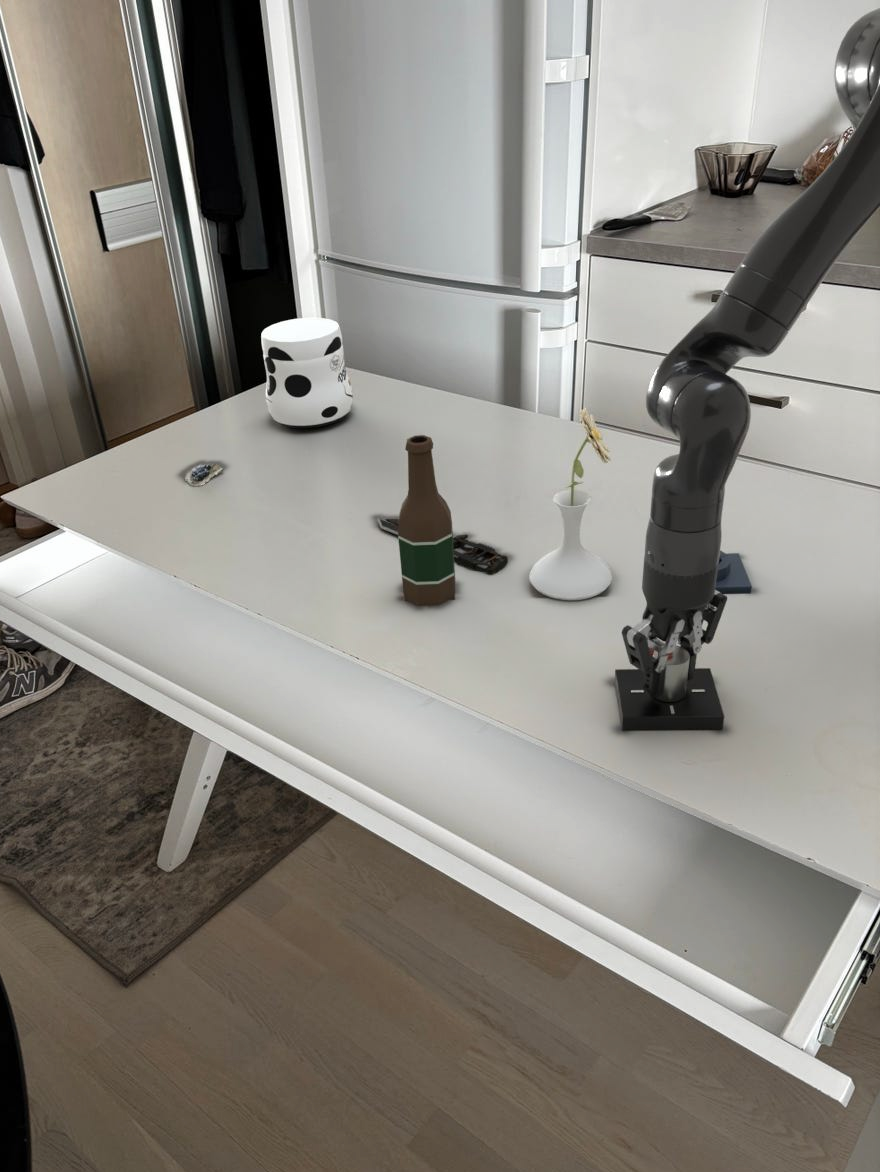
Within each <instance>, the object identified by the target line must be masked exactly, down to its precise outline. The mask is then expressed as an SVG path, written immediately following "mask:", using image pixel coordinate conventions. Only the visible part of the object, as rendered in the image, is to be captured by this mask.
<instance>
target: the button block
mask: <svg viewBox="0 0 880 1172" xmlns="http://www.w3.org/2000/svg"><path fill="white" fill-rule="evenodd" d="M752 588H753V585H752V583H751V581H750V578H749V576H748V573H747V571H746V568H745V566H744V563H743V560H742V558H741V556H740V553H739V552H735V553H734V552H732V553H730V552H729V553H726V552H724V551H722V550H721V549H720V558H719V564H718V571H717V579H716V587H715V590H717V591H718V592H720V593H722V594H723V595H751V594H752V590H753V589H752Z"/></svg>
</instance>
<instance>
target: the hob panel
mask: <svg viewBox="0 0 880 1172" xmlns="http://www.w3.org/2000/svg"><path fill="white" fill-rule="evenodd" d="M643 674H644V672H642V671H641V670H639V669H638V668H624V669H623V668H622V669H619V668H618V669H615V670H614V690H615V696H616V701H617V703H616V704H617V708H618V709H617V710H618V714H619V720H620V727H621V731H622V732H654V731H655V732H660V731H661V732H662V731H664V732H665V731H666V732H671V731H672V732H677V731H679V732H680V731H681V732H682V731H685V732H686V731H694V732H695V731H723V730H724V729H723V728H724V722H725V715H724V710H723V706H722V704H721V701H720V697H719V693H718V691H717V686H716V683H715V680H714V677H713V674H712V671H711V668H710V667H702V668H701V667H699V668H697V667H695V671H694V673H693V678H692V679H691V680H689V681H687V687H686V695H685V697H684V698H683V699H681V700H679V701H676V702H663V701H660V700H658V699H656V698H654V697H653V696H652V695H651V694H650V693H649V692H647V691H646V690H645V689H644V688H643Z"/></svg>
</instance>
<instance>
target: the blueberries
mask: <svg viewBox="0 0 880 1172" xmlns="http://www.w3.org/2000/svg"><path fill="white" fill-rule="evenodd" d="M222 472H224V468H223V467H221V466H220V465H219V464H217V463H206V464H204V463H201V464H199V465H197V466H195V467H193V468H192V469H191V470H190V471H189V472H188V473H187V474H185V477H184V480H185V481H184V482H187V484H188V485H189V486H191V487H201V486H204V485H205V484H206V483H208V482H209V481H210V480H211V478H214V476H217V475H218V474H219V473H222Z"/></svg>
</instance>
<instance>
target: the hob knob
mask: <svg viewBox="0 0 880 1172" xmlns="http://www.w3.org/2000/svg"><path fill="white" fill-rule="evenodd" d="M680 646H681V645H678V644H676V646H675V649H674V652H673V653H672V654H669V655H668V658H667V662H666V665H665V668H664V670H665V675H664V686H663V694H662V695H660V696H659V697H654V696H653V695H652V694H651V695H652V696H653V697H654V698H656V699H658V700H660V701H663V702H676V701H679V700H681V699H683V698H684V697H685V695H686V687H687V678H688V669H689V660H690V655H689V652H688V651H687V650H686V649H684V648H682V647H680ZM657 656H658V652H657V651H654V654H653V657H654V658H656V659H657Z"/></svg>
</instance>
